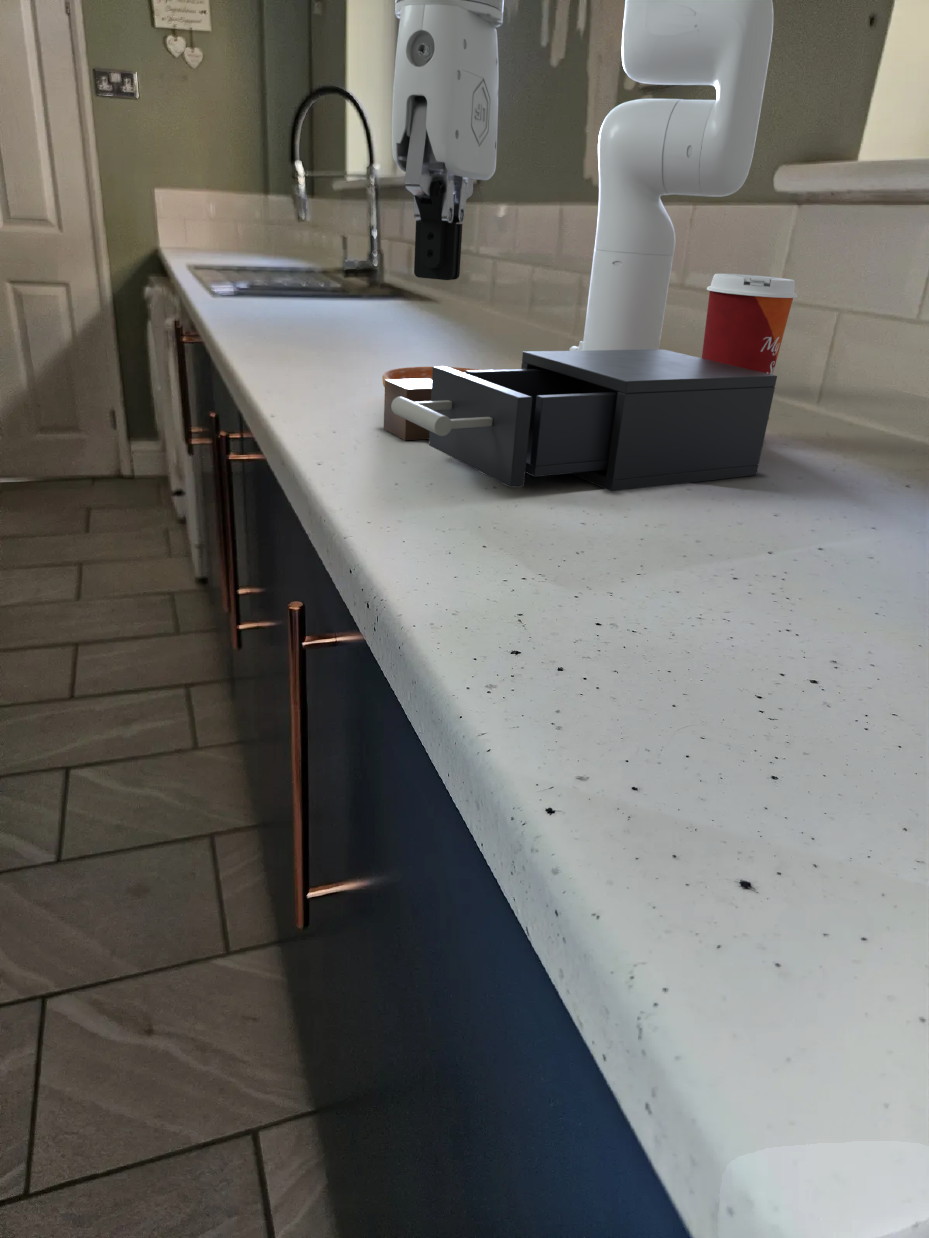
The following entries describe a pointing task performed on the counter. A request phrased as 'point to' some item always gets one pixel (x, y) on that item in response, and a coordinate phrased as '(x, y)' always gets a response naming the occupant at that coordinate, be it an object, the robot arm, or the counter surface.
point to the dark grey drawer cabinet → (671, 414)
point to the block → (412, 391)
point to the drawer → (516, 421)
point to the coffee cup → (747, 320)
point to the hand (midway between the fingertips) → (436, 277)
